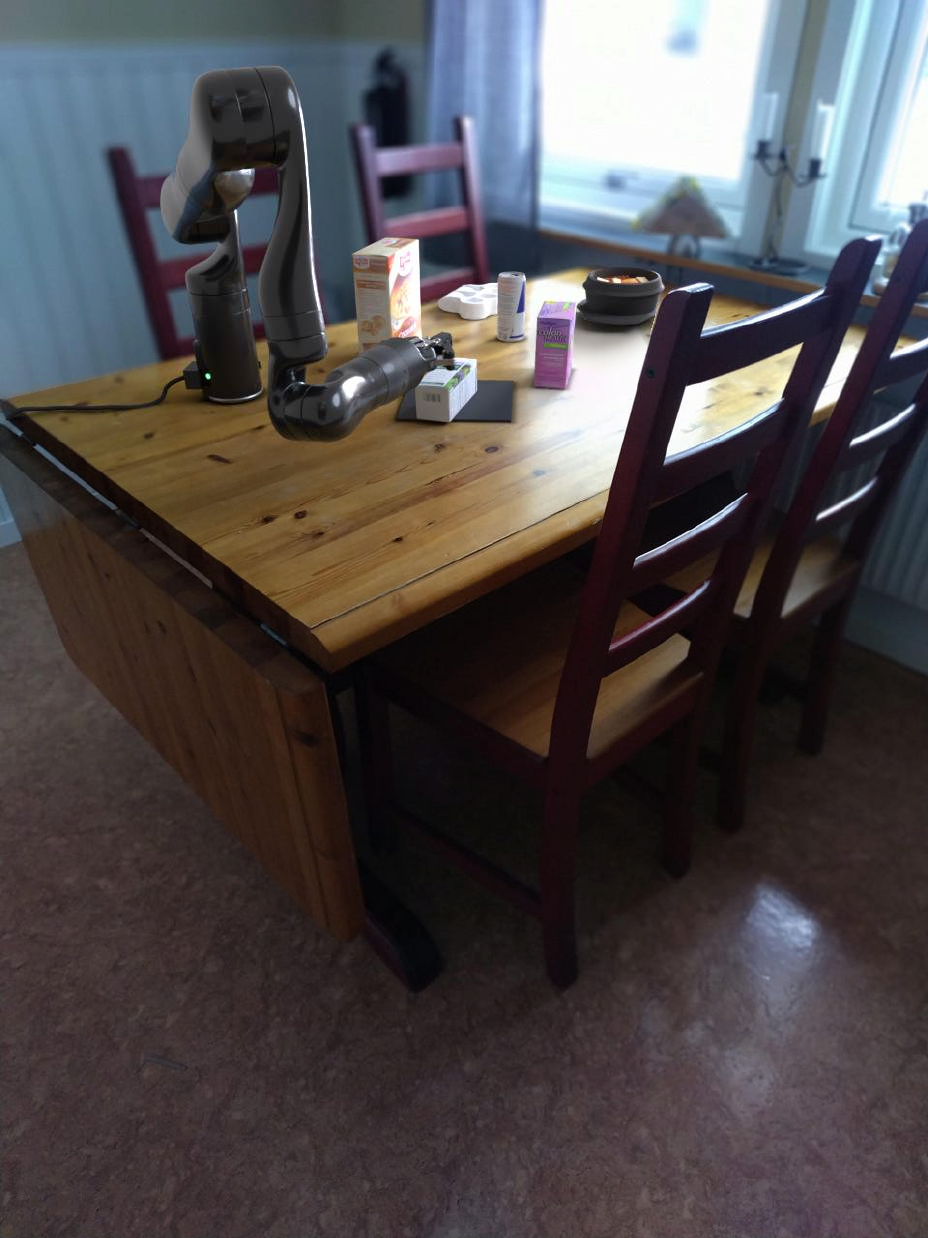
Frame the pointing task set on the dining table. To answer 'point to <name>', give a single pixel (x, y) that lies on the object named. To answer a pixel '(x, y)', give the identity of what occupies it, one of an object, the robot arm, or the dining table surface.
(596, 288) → the casserole
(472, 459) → the dining table surface
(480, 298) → the white cupped tray
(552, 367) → the box
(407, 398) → the mat
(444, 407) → the syrup box
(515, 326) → the energy drink
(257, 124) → the robot arm
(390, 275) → the coffeecake box
